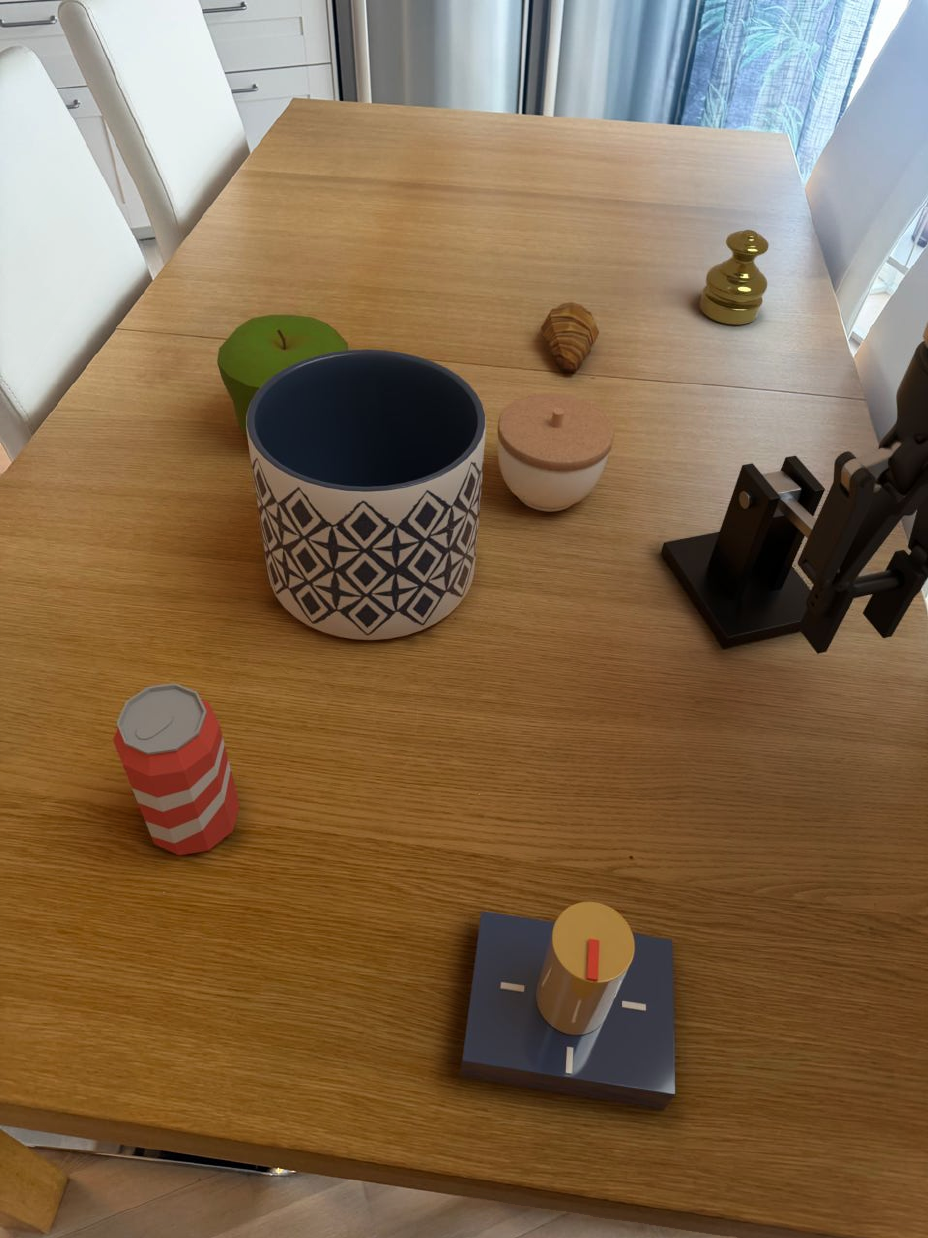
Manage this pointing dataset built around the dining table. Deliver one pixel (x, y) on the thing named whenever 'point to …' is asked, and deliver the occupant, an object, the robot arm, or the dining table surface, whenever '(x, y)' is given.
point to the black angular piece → (748, 561)
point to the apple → (270, 353)
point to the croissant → (570, 335)
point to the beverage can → (177, 768)
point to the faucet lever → (805, 523)
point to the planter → (368, 490)
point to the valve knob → (584, 967)
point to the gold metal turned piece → (736, 281)
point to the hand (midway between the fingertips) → (844, 631)
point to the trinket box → (553, 449)
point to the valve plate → (555, 1061)
